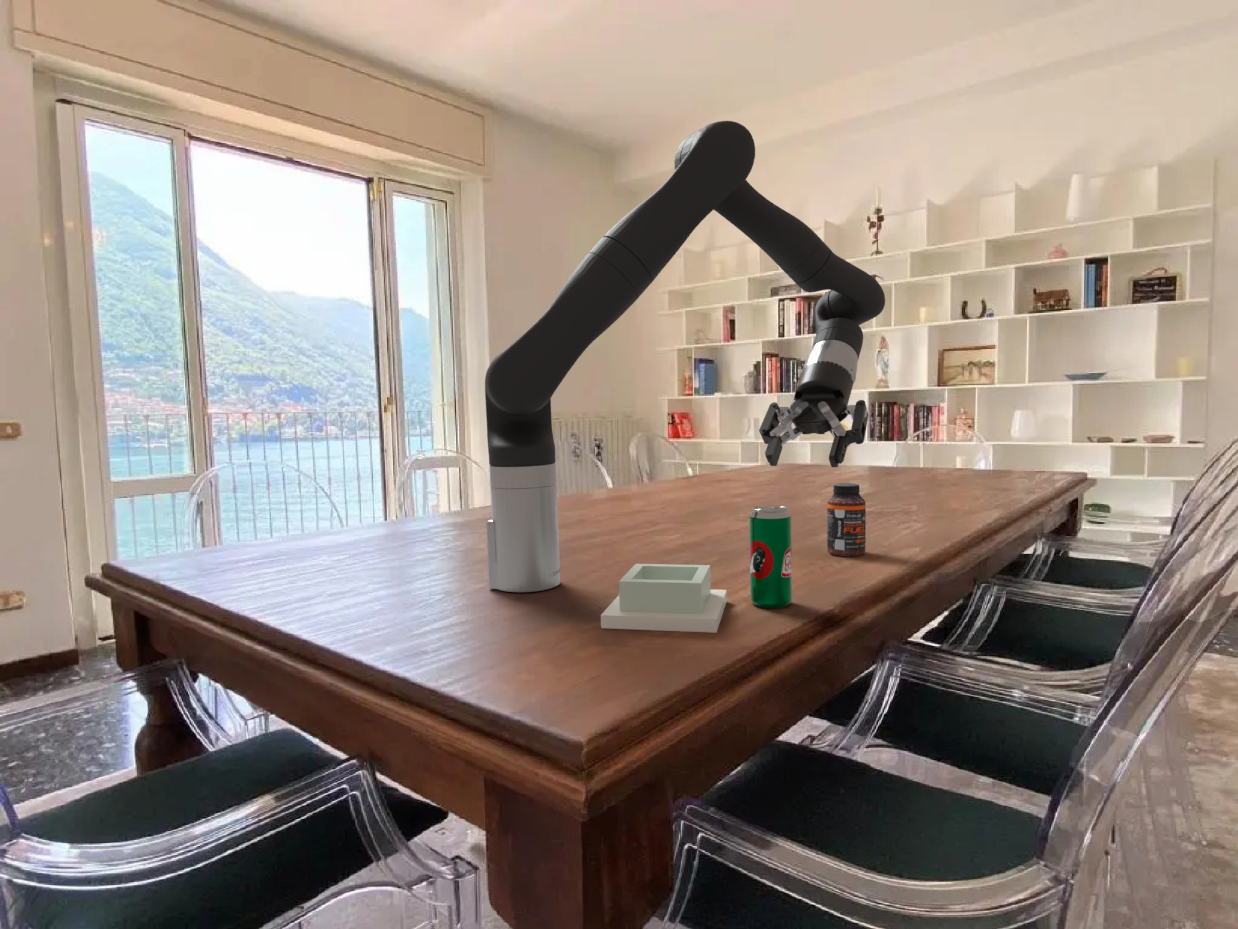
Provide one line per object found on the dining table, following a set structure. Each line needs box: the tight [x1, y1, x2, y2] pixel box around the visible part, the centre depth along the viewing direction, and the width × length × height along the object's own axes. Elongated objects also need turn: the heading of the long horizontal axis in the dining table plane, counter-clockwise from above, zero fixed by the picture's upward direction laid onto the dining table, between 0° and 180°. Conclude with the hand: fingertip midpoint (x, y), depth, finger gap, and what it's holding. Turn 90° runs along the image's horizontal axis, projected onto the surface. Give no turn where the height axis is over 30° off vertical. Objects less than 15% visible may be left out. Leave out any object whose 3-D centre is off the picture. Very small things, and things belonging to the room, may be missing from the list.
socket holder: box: [600, 563, 728, 634], centre depth 90 cm, size 13×13×5 cm
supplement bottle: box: [826, 482, 867, 557], centre depth 121 cm, size 6×6×11 cm
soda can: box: [748, 504, 793, 609], centre depth 92 cm, size 5×5×12 cm
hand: (801, 462), depth 101 cm, fingers open, 8 cm apart
